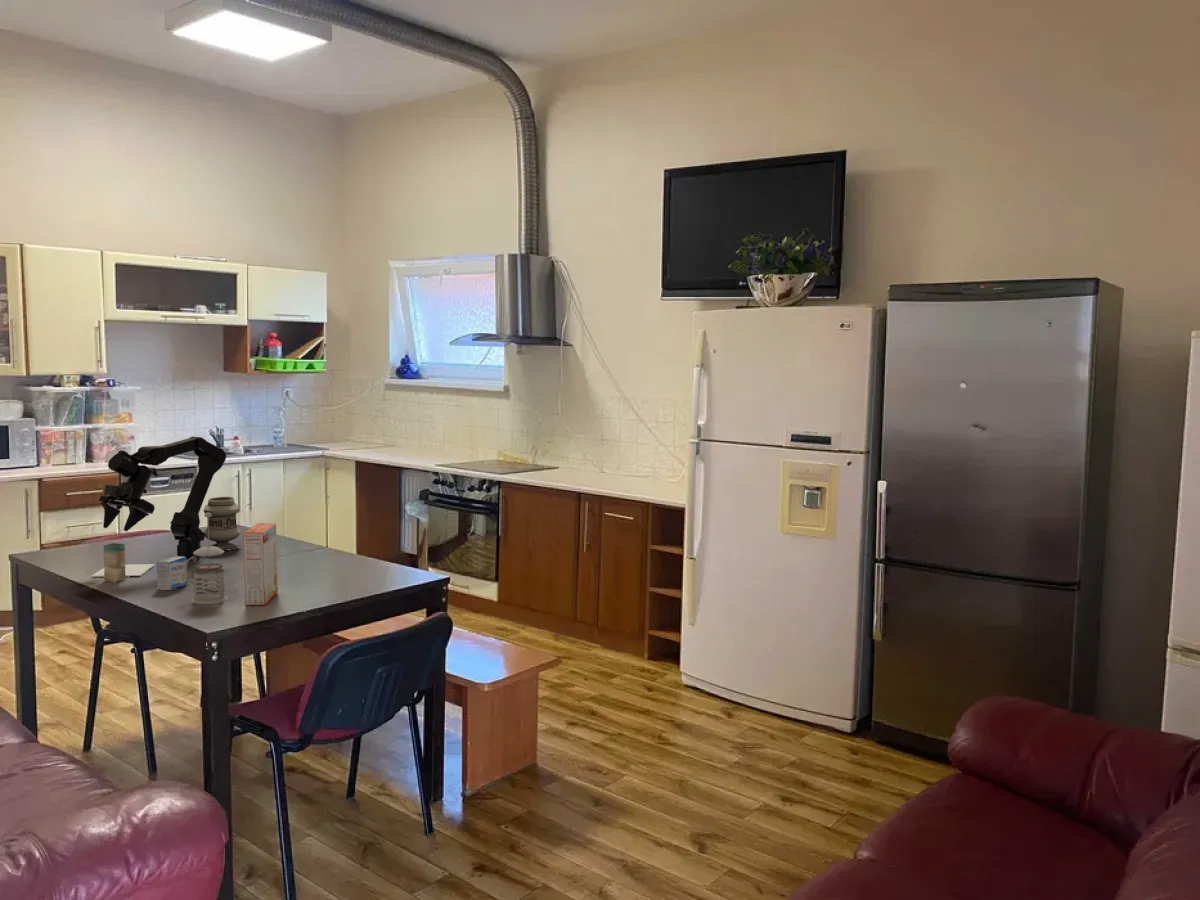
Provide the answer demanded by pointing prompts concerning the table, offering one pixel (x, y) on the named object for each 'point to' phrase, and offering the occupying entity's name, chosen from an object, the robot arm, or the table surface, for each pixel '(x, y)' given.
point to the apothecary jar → (222, 522)
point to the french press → (208, 576)
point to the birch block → (114, 562)
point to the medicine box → (171, 573)
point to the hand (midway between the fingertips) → (114, 529)
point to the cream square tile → (129, 570)
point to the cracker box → (260, 563)
